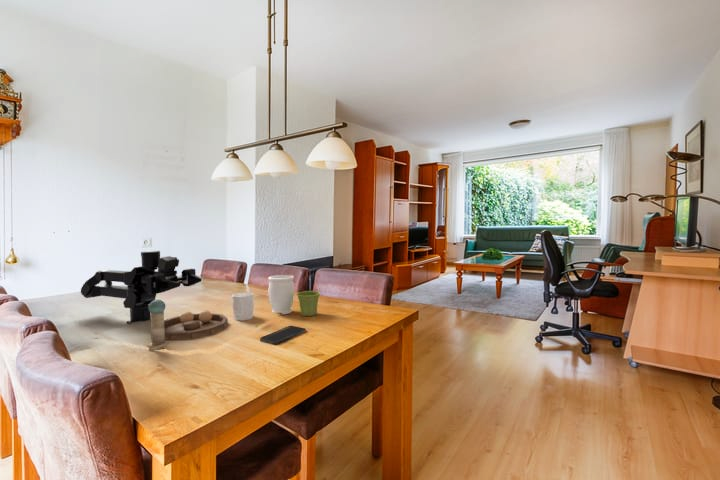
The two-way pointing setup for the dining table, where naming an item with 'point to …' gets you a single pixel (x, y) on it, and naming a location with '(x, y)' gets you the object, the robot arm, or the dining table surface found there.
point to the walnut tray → (193, 327)
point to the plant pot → (308, 302)
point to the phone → (282, 335)
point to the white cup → (243, 305)
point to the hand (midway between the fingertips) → (190, 282)
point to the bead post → (157, 325)
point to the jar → (281, 293)
